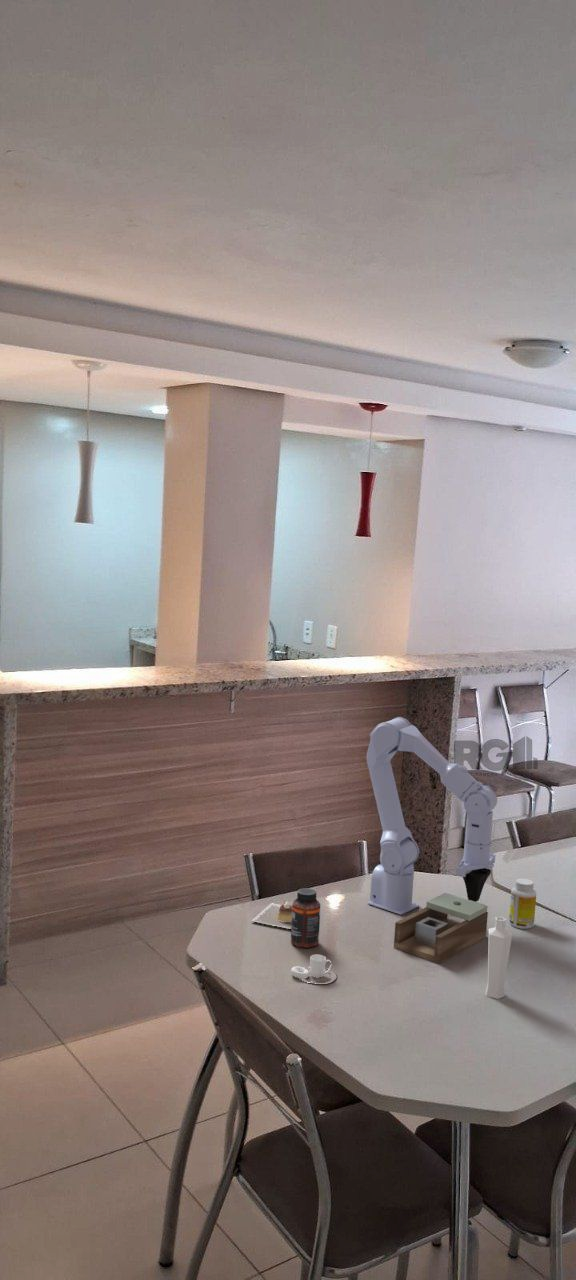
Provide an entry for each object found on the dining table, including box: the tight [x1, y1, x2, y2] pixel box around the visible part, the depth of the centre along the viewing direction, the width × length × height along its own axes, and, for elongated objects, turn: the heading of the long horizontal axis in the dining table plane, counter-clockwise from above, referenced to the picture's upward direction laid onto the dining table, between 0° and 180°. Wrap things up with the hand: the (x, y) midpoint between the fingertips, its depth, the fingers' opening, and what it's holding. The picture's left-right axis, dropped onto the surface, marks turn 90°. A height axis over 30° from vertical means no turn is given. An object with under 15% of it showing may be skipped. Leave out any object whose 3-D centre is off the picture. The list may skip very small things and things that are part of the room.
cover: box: [425, 892, 489, 921], centre depth 219 cm, size 11×8×2 cm
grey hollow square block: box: [415, 917, 448, 948], centre depth 212 cm, size 5×5×4 cm
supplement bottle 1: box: [290, 887, 321, 949], centre depth 210 cm, size 6×6×11 cm
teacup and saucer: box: [290, 953, 332, 984], centre depth 195 cm, size 9×8×4 cm
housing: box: [393, 907, 489, 965], centre depth 215 cm, size 11×20×6 cm, turn 141°
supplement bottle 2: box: [508, 878, 537, 930], centre depth 226 cm, size 6×6×10 cm
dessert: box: [250, 900, 292, 930], centre depth 223 cm, size 12×12×5 cm
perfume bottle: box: [484, 916, 513, 1000], centre depth 191 cm, size 5×4×15 cm
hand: (473, 900), depth 225 cm, fingers closed
